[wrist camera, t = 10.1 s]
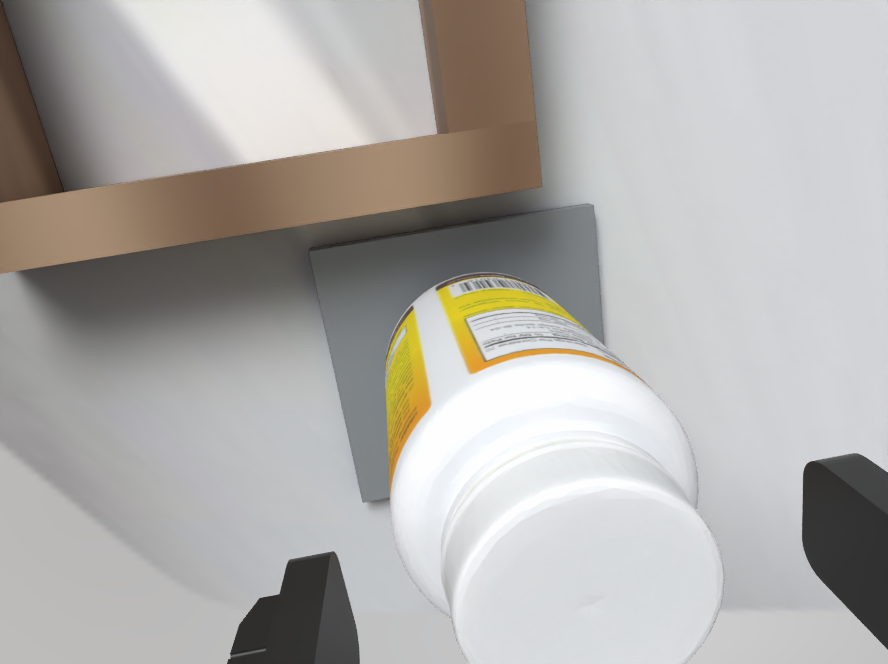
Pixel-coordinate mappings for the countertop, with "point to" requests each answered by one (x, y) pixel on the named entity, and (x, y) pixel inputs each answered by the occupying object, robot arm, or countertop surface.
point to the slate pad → (417, 270)
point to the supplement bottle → (542, 485)
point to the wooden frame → (293, 178)
